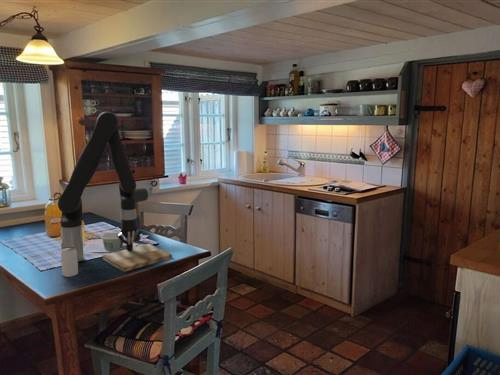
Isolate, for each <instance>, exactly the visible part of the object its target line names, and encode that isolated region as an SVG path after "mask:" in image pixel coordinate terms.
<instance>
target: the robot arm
mask: <svg viewBox="0 0 500 375" xmlns="http://www.w3.org/2000/svg"><path fill="white" fill-rule="evenodd" d="M119 130H120V129H119V119H118V117H117V114H115V113H114V112H112V111H108V110H107V111H103V112H101V113H100V114H99V115H98V117H97V119H96V123H95V126H94V129H93V132H92V134H91V137H90V139H89V140H88V141H87V143H86V144H85V146H84V147H83V149H82V150H81V153H80V154H79V157H78V159H77V160H76V163H75V166H74V168H73V171H72V173H71V176H70V178H69V181H68V184H67V186H66V187H65V189H63V192H62V193H61V195H60V196H59V198H58V200H57V208H58V209H59V211H60V212H61V218H60V233H61V234H60V235H61V243H60V250H61V251H62V248H64V247H69V246H73V247H76V250H77V260H78V262H80V261H83V260H84V258H85V256H84V240H83V238H84V237H83V223H82V221H83V202H82V201H83V200H82V196H83V192H84V190H85V189H86V187H87V185H88V184H89V183H90V181H91V180H92V179H93V177H94V175H95V173H96V172H97V170H98V168H99V166H100V164H101V161H102V158H103V155H104V153H105V151H106V150H105V149H106V147H107V146H108V148H109V149H108V150H109V154H110V159H111V162H112V165H113V168H114V171H115V173H116V175H117V177H118V180H119V183H118V190H119V197H120V228H121V229H120V232H119V233H120V234H119V235H117V237H118V238H119V239H120V240H121V241H122V242H123V245H124V244H125V245H126V246H125V247H126V249H125V250H128V251H132V249H133V248H134V243H137V242H136V241H137V239H138V237H139V236H140V237H141V234H142V231H139V230H137V227H136V226H137V216H136V202H135V198H134V192H133V191H134V190H135V189H137V183H136V180H135V177H134V175H133V173H132V170H131V167H130V162H129V159H128V157H127V154H126V151H125V148H124V145H123V143H122V139H121V134H120V131H119ZM123 236H124V238H123ZM61 251H60V252H61Z"/></svg>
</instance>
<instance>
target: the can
mask: <svg viewBox="0 0 500 375" xmlns="http://www.w3.org/2000/svg"><path fill="white" fill-rule="evenodd" d="M60 259H61V260H60V261H61V275H62V276H63V277H65V278H71V277H75V276H77V275H78V274H79V265H78V264H79V261H78V260H77V250H76V247H73V246H69V247H64V248H62V251H60Z"/></svg>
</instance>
